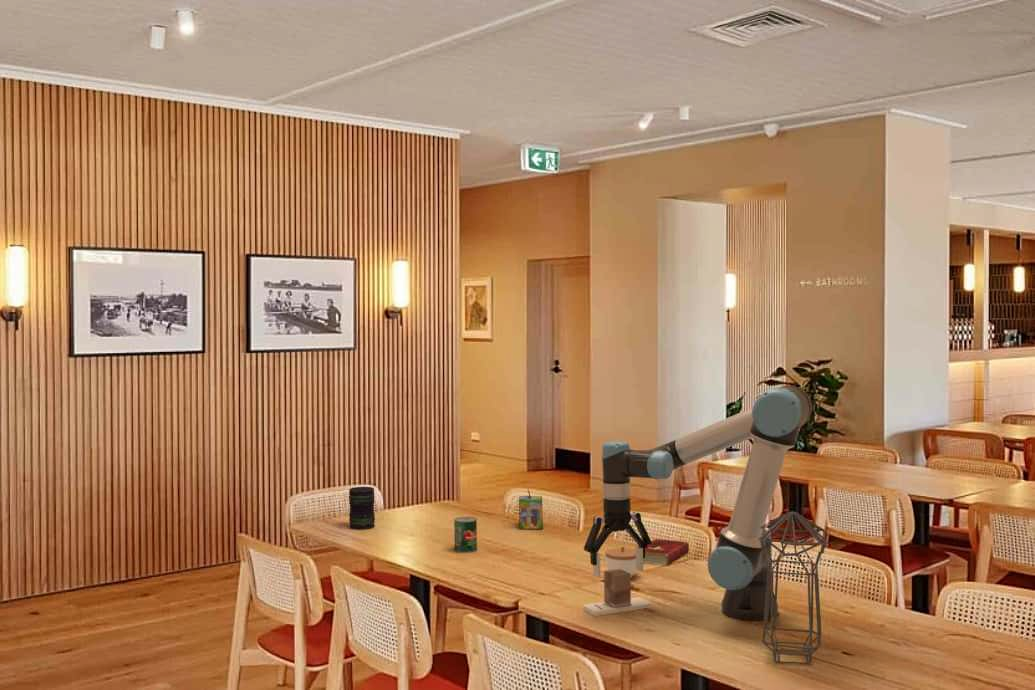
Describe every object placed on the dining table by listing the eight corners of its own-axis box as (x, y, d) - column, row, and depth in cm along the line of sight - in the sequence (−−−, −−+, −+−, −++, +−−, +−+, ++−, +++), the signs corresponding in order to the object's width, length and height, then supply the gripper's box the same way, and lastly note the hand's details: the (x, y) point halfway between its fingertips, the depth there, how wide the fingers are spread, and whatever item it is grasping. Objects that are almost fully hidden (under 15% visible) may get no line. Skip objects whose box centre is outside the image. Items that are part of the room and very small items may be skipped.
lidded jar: (638, 582, 304) (638, 551, 303) (603, 580, 306) (603, 550, 305) (641, 573, 314) (641, 543, 314) (607, 571, 316) (607, 542, 316)
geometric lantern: (760, 644, 246) (760, 504, 244) (827, 650, 241) (827, 507, 240) (756, 666, 231) (756, 516, 229) (827, 672, 226) (827, 520, 225)
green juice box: (543, 529, 378) (542, 491, 378) (519, 529, 378) (518, 491, 378) (542, 524, 387) (542, 486, 387) (519, 524, 388) (518, 487, 387)
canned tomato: (472, 553, 341) (471, 522, 341) (451, 552, 344) (450, 520, 344) (480, 548, 349) (480, 517, 349) (459, 546, 352) (459, 516, 351)
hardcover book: (688, 553, 341) (688, 541, 341) (667, 567, 322) (667, 554, 322) (655, 549, 347) (655, 537, 346) (633, 563, 328) (633, 550, 328)
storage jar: (353, 524, 391) (353, 486, 391) (378, 524, 390) (377, 486, 390) (346, 529, 382) (345, 491, 381) (370, 530, 380) (370, 491, 380)
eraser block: (630, 605, 275) (630, 573, 275) (614, 608, 273) (614, 575, 273) (619, 600, 280) (619, 568, 280) (604, 602, 278) (604, 570, 278)
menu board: (651, 607, 277) (651, 603, 277) (594, 616, 270) (594, 611, 270) (638, 601, 283) (638, 596, 283) (583, 609, 276) (583, 604, 276)
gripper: (648, 491, 284) (650, 564, 285) (570, 499, 274) (572, 575, 275) (662, 495, 277) (664, 570, 278) (583, 503, 267) (585, 582, 268)
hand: (618, 573), depth 276 cm, fingers open, 13 cm apart
